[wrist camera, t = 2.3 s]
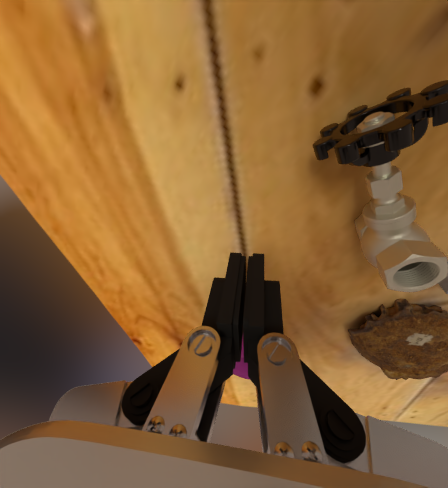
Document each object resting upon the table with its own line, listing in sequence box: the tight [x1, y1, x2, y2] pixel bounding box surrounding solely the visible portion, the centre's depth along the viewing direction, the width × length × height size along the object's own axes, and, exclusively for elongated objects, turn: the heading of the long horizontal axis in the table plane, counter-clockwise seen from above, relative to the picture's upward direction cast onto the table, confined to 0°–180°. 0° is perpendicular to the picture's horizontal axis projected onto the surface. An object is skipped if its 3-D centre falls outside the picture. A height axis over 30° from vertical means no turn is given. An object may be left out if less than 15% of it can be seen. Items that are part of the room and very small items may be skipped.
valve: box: [313, 80, 448, 292], centre depth 15 cm, size 7×7×12 cm
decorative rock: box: [348, 299, 448, 380], centre depth 27 cm, size 11×4×15 cm
